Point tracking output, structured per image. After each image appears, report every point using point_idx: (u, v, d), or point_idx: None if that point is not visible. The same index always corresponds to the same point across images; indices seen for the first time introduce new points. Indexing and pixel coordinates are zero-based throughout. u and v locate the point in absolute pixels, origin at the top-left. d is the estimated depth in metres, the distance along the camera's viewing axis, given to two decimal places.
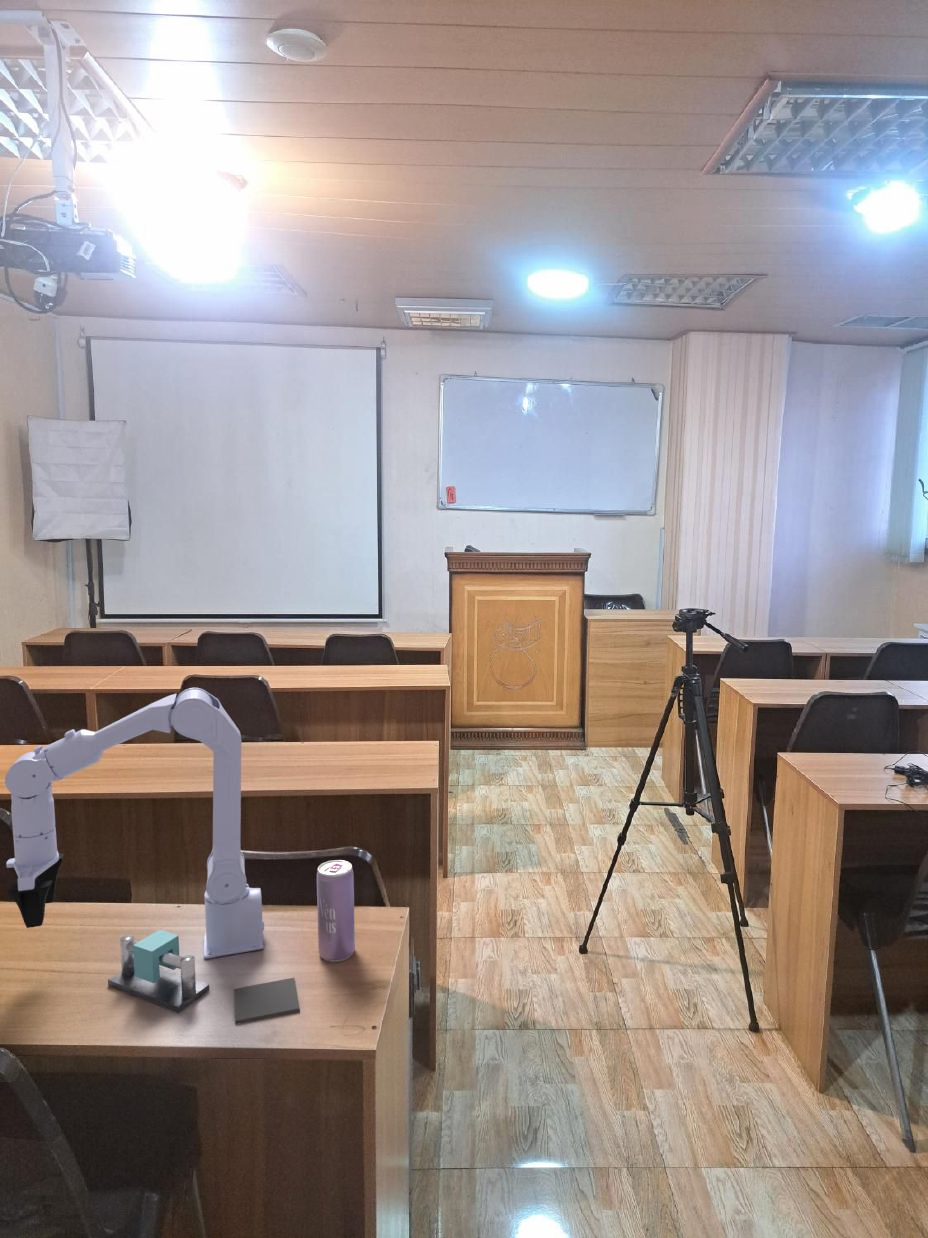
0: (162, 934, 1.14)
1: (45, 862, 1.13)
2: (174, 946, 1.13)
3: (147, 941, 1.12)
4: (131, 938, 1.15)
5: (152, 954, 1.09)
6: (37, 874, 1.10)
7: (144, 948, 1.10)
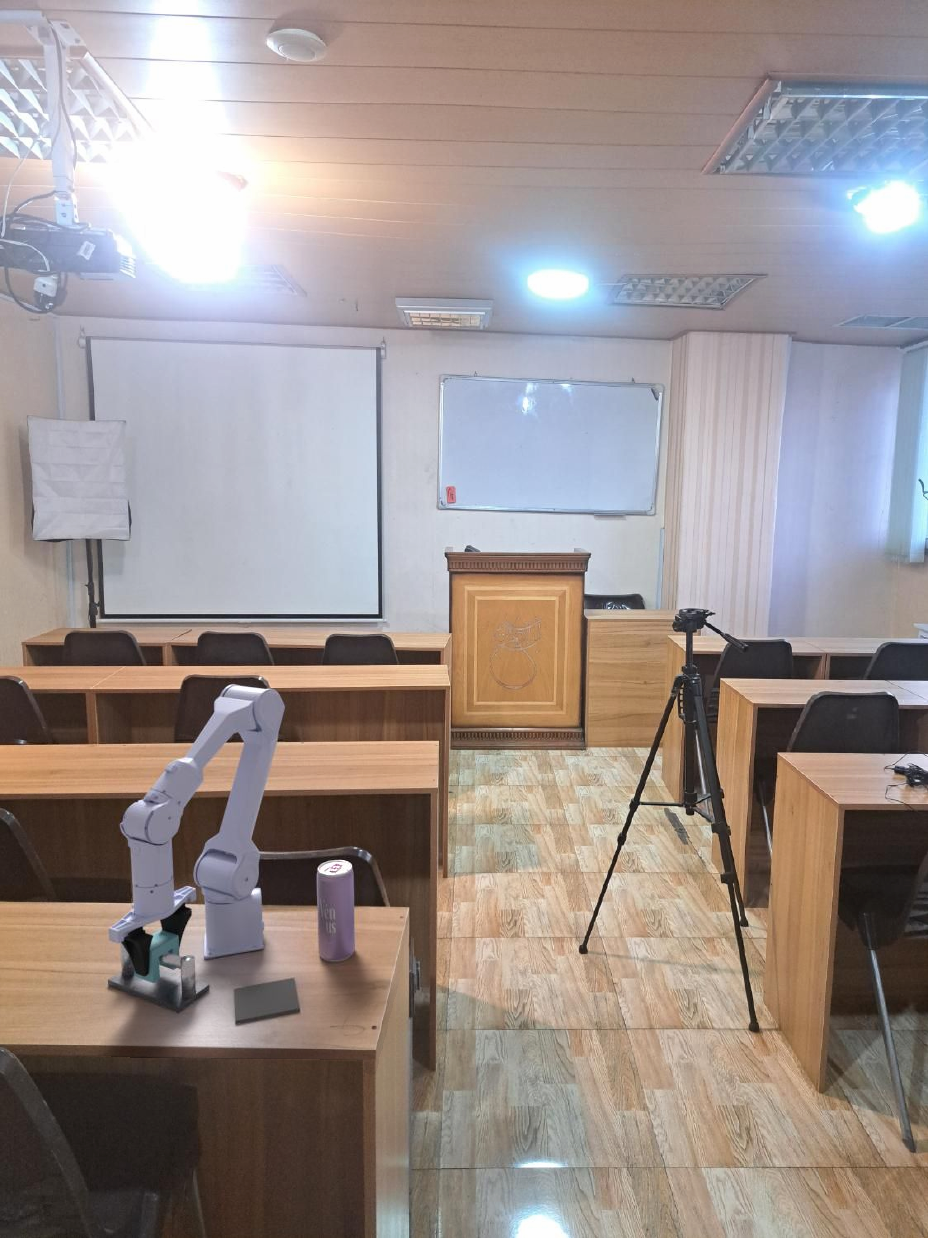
0: (162, 934, 1.14)
1: (149, 916, 1.09)
2: (174, 946, 1.13)
3: None
4: None
5: (152, 954, 1.09)
6: (129, 928, 1.06)
7: None
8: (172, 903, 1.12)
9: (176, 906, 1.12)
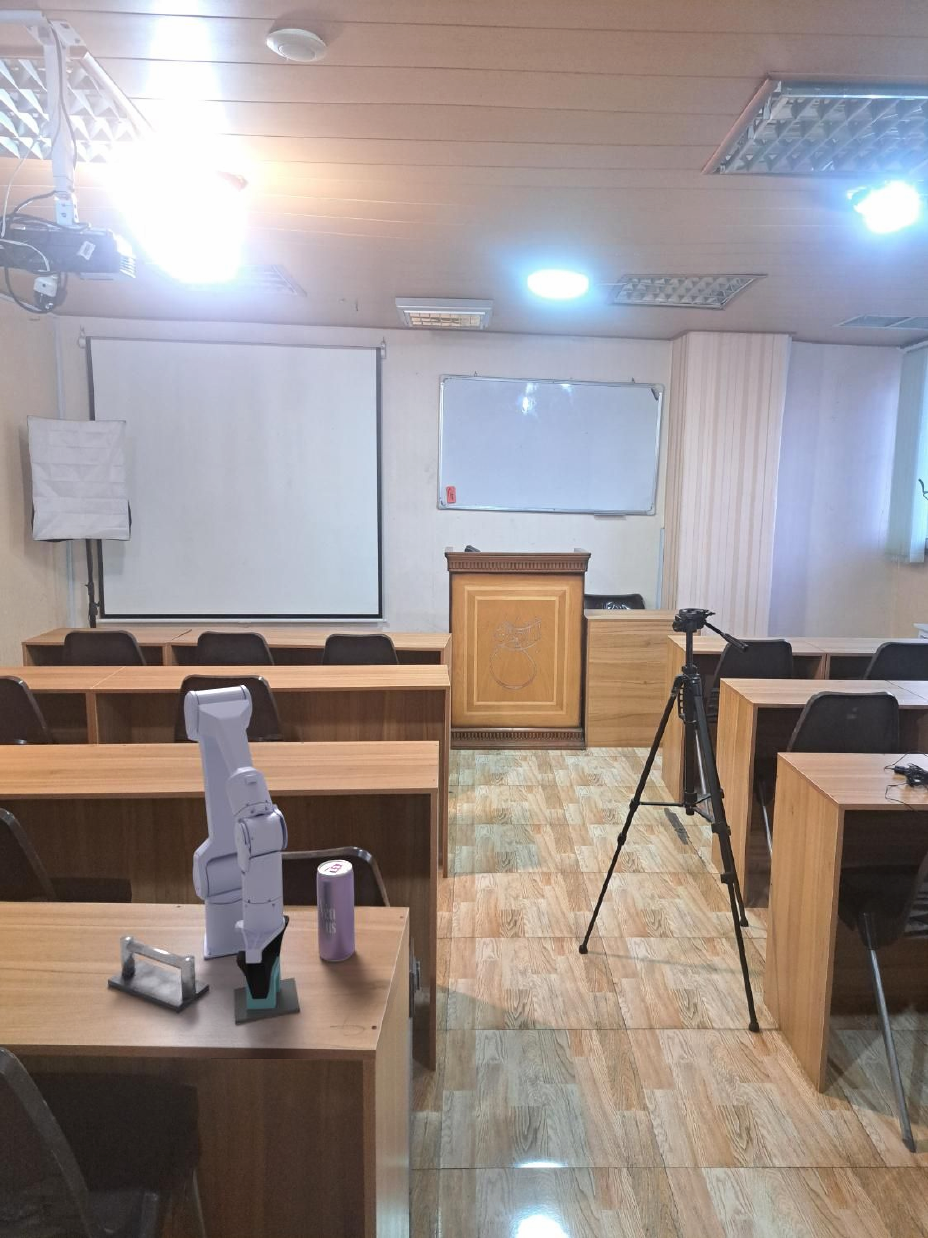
0: None
1: (272, 931, 1.06)
2: (279, 968, 1.11)
3: None
4: (131, 938, 1.15)
5: (273, 978, 1.07)
6: (264, 946, 1.03)
7: None
8: None
9: (283, 917, 1.11)
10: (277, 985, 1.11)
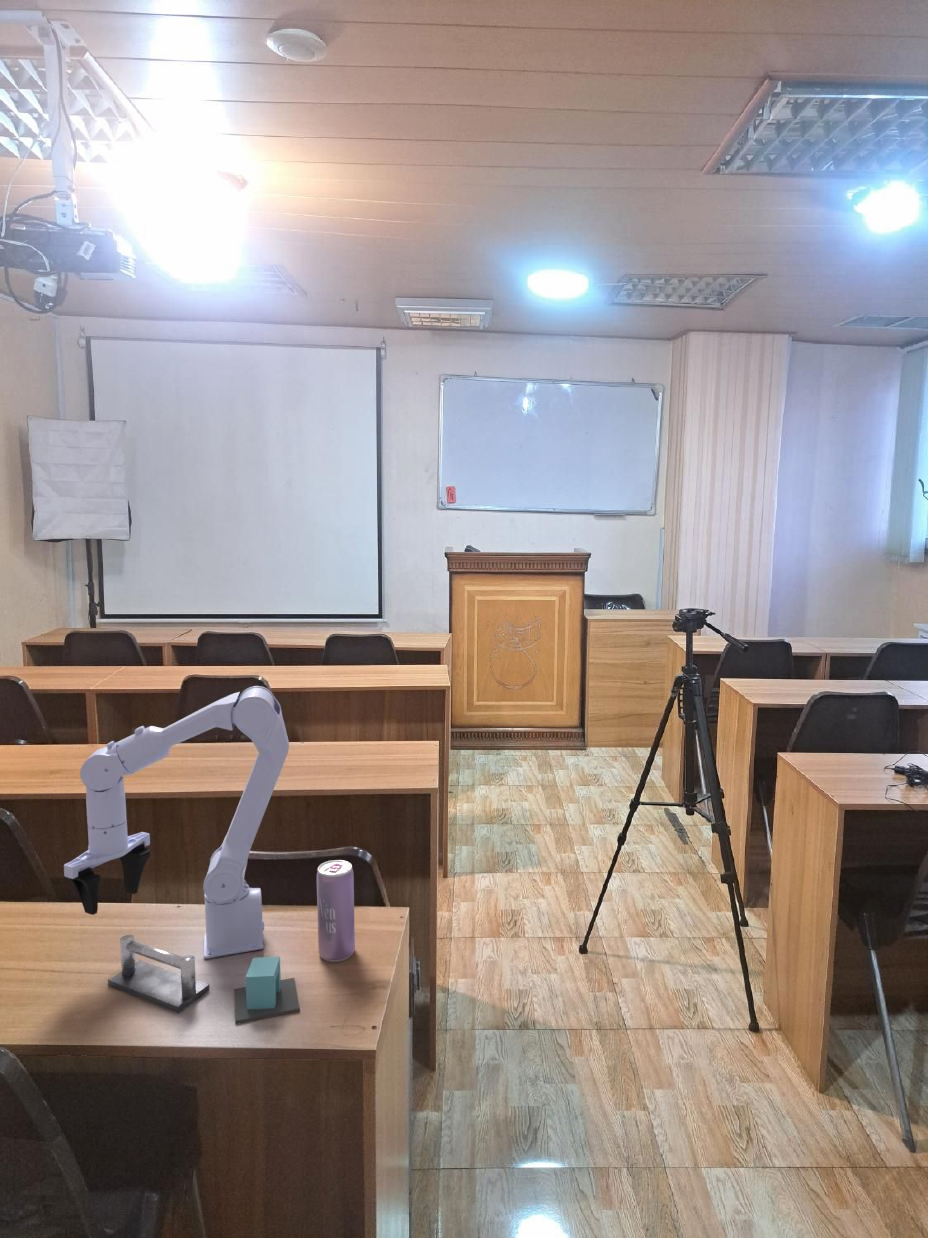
0: (262, 960, 1.11)
1: (102, 855, 1.17)
2: (279, 968, 1.11)
3: (256, 970, 1.08)
4: (131, 938, 1.15)
5: (273, 978, 1.07)
6: (83, 865, 1.15)
7: (262, 976, 1.07)
8: (125, 844, 1.20)
9: (129, 848, 1.21)
10: (277, 985, 1.11)
